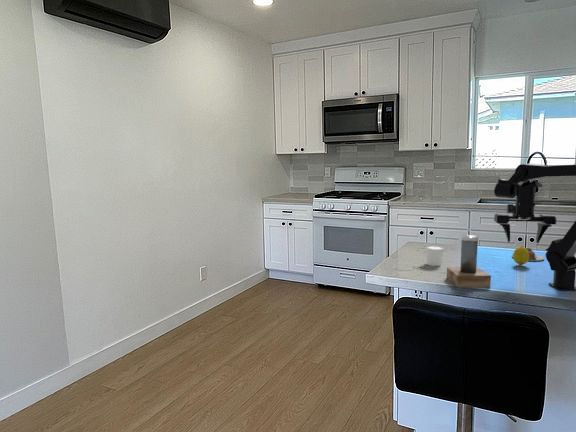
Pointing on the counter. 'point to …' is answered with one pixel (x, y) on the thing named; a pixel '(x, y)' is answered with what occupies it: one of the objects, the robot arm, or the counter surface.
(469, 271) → the tea tin
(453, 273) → the walnut block
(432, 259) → the shot glass
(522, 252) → the lemon
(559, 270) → the robot arm
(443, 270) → the counter surface
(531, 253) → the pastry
